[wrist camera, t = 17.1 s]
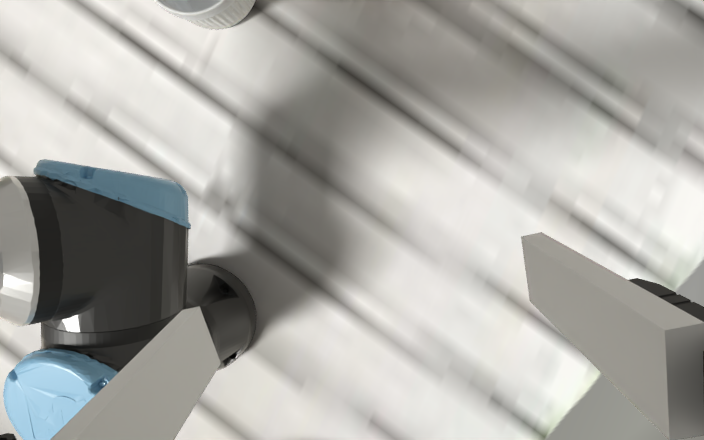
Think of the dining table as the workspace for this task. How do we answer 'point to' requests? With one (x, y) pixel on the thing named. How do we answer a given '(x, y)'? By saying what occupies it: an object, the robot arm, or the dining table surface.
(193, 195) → the dining table surface
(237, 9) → the ramekin
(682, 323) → the robot arm
